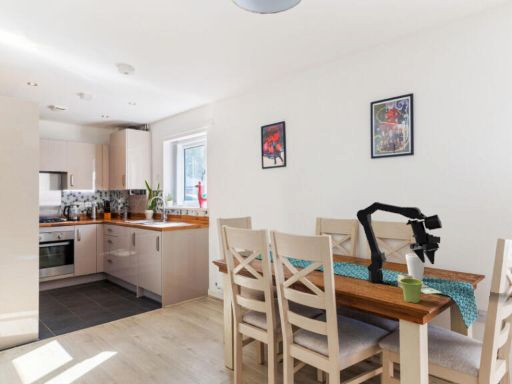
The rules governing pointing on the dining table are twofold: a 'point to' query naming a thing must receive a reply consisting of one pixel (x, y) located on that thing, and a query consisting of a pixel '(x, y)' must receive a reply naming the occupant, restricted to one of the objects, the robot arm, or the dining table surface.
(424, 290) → the pad
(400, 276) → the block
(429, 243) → the robot arm
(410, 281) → the plant pot
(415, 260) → the foam cup
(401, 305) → the dining table surface
